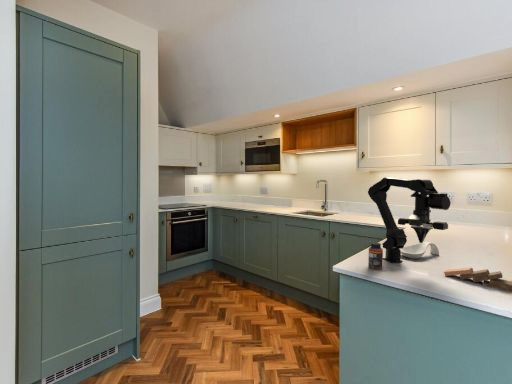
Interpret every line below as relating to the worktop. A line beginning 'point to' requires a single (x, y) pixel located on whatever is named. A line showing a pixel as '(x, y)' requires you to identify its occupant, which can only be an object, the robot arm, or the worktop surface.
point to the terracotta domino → (458, 271)
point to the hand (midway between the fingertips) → (421, 242)
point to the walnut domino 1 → (475, 274)
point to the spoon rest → (418, 250)
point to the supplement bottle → (375, 256)
